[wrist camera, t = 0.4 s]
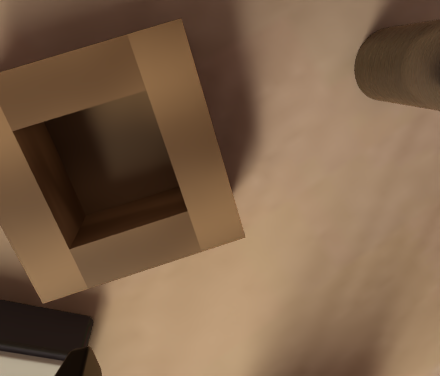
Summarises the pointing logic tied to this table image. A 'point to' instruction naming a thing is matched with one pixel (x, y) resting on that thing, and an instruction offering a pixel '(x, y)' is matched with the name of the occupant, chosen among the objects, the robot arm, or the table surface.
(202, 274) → the table surface
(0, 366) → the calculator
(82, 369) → the robot arm
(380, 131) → the table surface
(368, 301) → the table surface
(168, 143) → the hole block
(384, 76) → the pin
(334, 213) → the table surface
